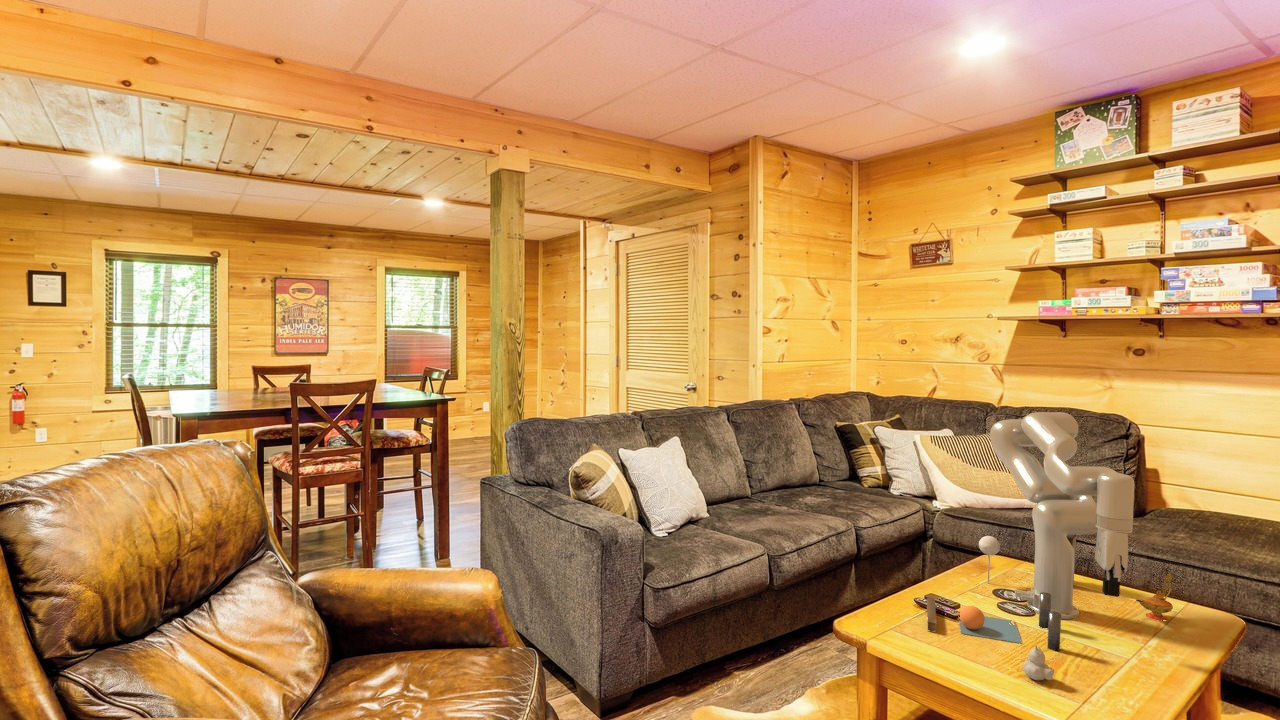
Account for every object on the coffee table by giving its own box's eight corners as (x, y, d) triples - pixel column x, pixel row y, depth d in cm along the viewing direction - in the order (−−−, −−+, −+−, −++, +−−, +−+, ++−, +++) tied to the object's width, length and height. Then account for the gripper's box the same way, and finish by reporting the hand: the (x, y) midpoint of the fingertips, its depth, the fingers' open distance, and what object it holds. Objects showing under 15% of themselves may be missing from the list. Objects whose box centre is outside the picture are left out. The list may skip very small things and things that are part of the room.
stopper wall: (927, 631, 174) (928, 622, 174) (927, 605, 191) (927, 596, 191) (936, 632, 174) (936, 623, 174) (934, 606, 190) (934, 597, 190)
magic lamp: (1122, 620, 182) (1124, 581, 182) (1155, 607, 191) (1157, 570, 190) (1150, 630, 176) (1152, 589, 176) (1184, 616, 185) (1186, 578, 184)
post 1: (1039, 628, 177) (1040, 595, 176) (1038, 624, 179) (1039, 591, 179) (1050, 629, 176) (1052, 596, 175) (1049, 625, 178) (1050, 593, 178)
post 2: (1048, 649, 165) (1049, 614, 164) (1046, 645, 167) (1047, 610, 167) (1060, 651, 164) (1062, 616, 163) (1058, 647, 166) (1060, 612, 166)
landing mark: (960, 633, 173) (960, 632, 173) (957, 612, 186) (958, 611, 186) (1021, 643, 168) (1021, 643, 168) (1014, 621, 181) (1014, 620, 181)
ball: (958, 610, 175) (983, 608, 173) (956, 603, 180) (980, 602, 178) (963, 633, 174) (988, 632, 172) (960, 626, 180) (985, 624, 178)
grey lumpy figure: (1030, 670, 155) (1032, 636, 155) (1060, 683, 149) (1061, 648, 149) (1017, 675, 152) (1018, 642, 152) (1046, 689, 147) (1047, 654, 146)
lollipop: (990, 588, 204) (992, 540, 203) (973, 581, 209) (974, 535, 208) (1003, 584, 207) (1004, 537, 206) (985, 578, 212) (987, 532, 211)
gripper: (1089, 513, 173) (1086, 582, 174) (1103, 529, 160) (1100, 603, 160) (1123, 516, 170) (1120, 586, 171) (1141, 533, 157) (1138, 609, 158)
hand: (1110, 594), depth 166 cm, fingers closed
